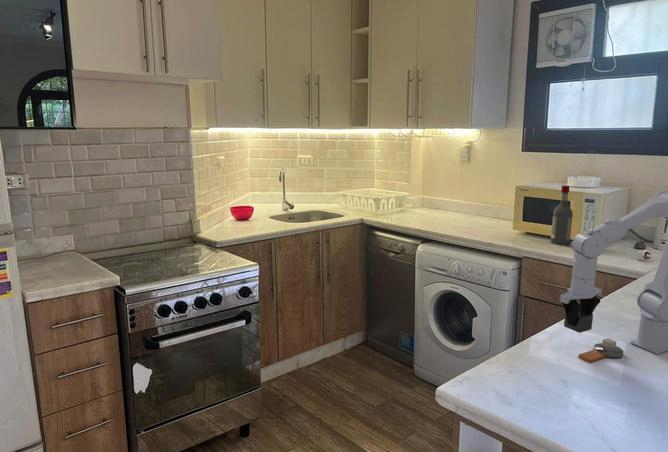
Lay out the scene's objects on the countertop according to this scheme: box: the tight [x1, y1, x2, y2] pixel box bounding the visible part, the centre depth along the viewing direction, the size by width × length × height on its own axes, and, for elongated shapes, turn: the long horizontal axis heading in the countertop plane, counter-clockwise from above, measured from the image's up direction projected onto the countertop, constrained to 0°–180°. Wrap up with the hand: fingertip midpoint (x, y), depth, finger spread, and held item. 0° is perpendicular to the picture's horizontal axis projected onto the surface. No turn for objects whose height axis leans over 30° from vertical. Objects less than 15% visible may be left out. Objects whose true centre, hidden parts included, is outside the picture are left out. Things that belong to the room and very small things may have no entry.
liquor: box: [550, 185, 573, 246], centre depth 257 cm, size 9×9×30 cm
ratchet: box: [577, 337, 624, 364], centre depth 135 cm, size 14×7×4 cm, turn 117°
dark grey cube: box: [563, 310, 594, 334], centre depth 139 cm, size 5×5×4 cm
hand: (578, 322), depth 139 cm, fingers closed on dark grey cube, 5 cm apart
